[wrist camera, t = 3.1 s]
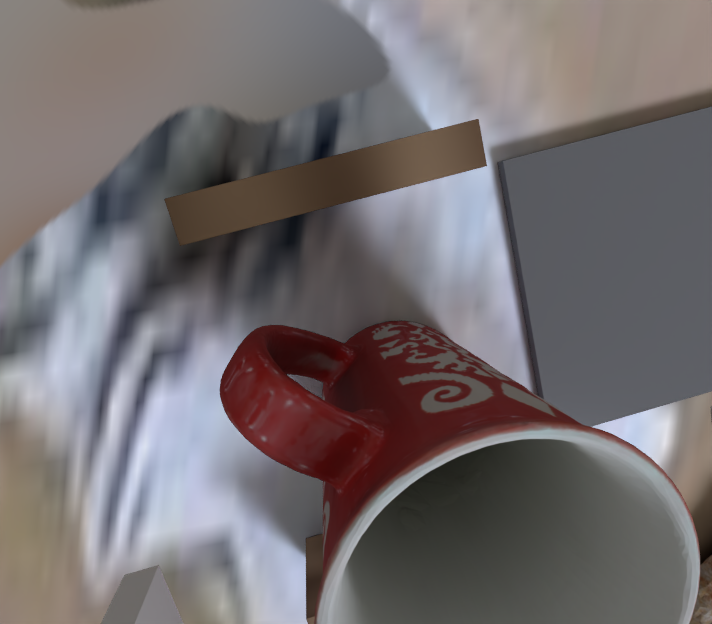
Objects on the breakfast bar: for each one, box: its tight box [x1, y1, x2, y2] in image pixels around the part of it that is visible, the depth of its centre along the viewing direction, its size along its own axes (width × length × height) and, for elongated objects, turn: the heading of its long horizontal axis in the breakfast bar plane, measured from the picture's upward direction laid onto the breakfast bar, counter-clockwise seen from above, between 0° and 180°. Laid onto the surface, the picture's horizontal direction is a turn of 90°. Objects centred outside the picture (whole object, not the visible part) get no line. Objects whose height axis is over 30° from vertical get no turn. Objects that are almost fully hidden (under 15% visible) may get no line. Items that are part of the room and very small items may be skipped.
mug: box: [220, 321, 700, 624], centre depth 17 cm, size 13×9×14 cm
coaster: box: [498, 107, 712, 427], centre depth 23 cm, size 14×14×1 cm
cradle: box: [164, 119, 487, 624], centre depth 21 cm, size 11×19×5 cm, turn 14°
